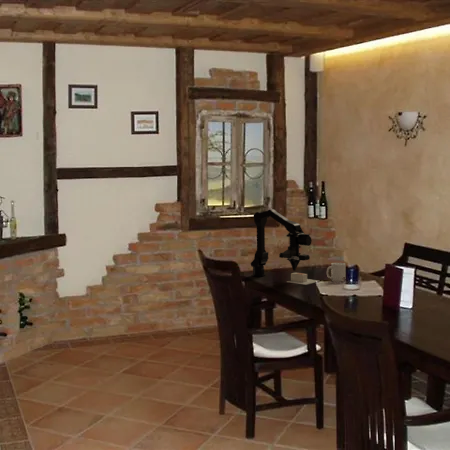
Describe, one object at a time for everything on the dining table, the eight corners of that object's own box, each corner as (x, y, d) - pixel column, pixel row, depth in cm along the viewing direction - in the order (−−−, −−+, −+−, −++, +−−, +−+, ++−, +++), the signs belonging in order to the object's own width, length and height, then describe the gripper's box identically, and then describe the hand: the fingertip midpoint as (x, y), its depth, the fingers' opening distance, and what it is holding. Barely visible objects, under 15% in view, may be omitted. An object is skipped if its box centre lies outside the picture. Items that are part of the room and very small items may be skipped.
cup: (348, 281, 416) (348, 264, 415) (330, 282, 411) (330, 265, 410) (340, 278, 423) (340, 262, 422) (323, 280, 419) (323, 263, 418)
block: (290, 273, 419) (303, 274, 413) (295, 272, 422) (307, 273, 416) (290, 280, 420) (303, 281, 414) (295, 279, 423) (307, 280, 417)
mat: (286, 282, 416) (286, 281, 416) (301, 278, 426) (301, 278, 426) (305, 284, 406) (305, 284, 406) (320, 281, 416) (320, 280, 416)
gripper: (273, 244, 419) (273, 270, 421) (298, 247, 406) (298, 274, 408) (285, 242, 427) (285, 268, 429) (310, 245, 414) (310, 271, 416)
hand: (294, 270), depth 420 cm, fingers closed
